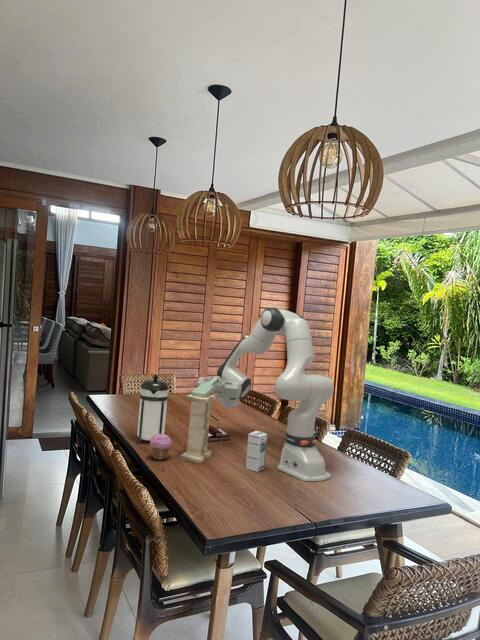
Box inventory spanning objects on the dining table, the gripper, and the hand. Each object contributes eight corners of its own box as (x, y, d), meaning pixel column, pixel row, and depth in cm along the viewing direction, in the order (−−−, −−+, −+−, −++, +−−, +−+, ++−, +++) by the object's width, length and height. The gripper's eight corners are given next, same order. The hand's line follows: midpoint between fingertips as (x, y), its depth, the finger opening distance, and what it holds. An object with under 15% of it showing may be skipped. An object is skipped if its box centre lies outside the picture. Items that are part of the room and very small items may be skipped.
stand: (193, 450, 210) (198, 391, 209) (212, 454, 207) (217, 394, 206) (179, 459, 198) (185, 396, 197) (199, 463, 195) (205, 399, 194)
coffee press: (175, 442, 220) (181, 376, 219) (146, 447, 208) (152, 378, 207) (152, 432, 232) (157, 370, 230) (123, 437, 220) (129, 371, 219)
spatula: (211, 378, 218) (211, 375, 218) (223, 380, 216) (224, 377, 216) (191, 395, 199) (191, 391, 198) (204, 397, 197) (205, 394, 196)
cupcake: (160, 463, 190) (162, 438, 190) (143, 458, 195) (146, 433, 194) (174, 458, 198) (176, 434, 197) (158, 453, 202) (160, 429, 202)
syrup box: (257, 472, 191) (261, 436, 190) (245, 468, 194) (248, 432, 193) (264, 468, 196) (268, 433, 195) (252, 464, 199) (255, 430, 198)
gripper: (204, 381, 230) (195, 369, 218) (245, 387, 223) (237, 375, 212) (200, 393, 227) (191, 382, 215) (241, 400, 220) (234, 389, 209)
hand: (214, 378), depth 213 cm, fingers closed on spatula, 2 cm apart
